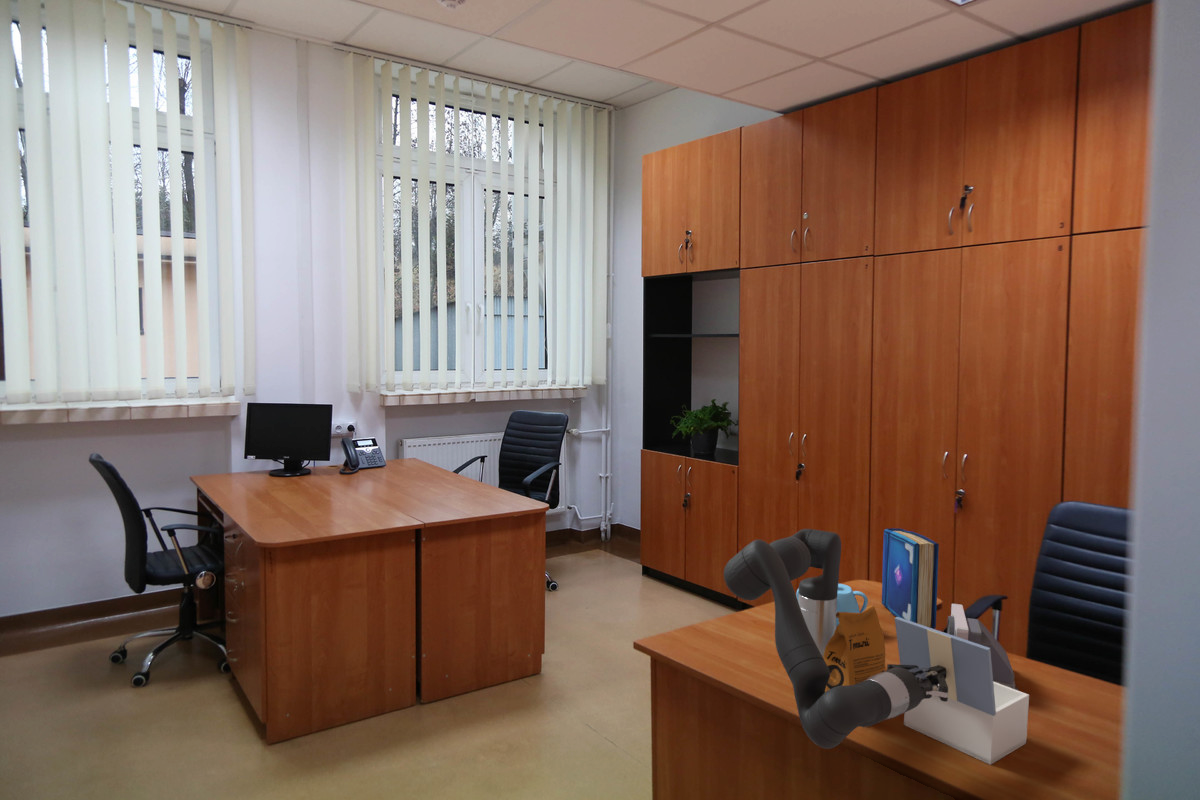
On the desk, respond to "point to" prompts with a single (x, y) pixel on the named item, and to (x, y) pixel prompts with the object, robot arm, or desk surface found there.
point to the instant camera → (982, 643)
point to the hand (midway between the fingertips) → (942, 671)
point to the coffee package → (855, 649)
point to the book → (910, 576)
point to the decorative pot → (847, 600)
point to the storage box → (975, 724)
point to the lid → (950, 662)
